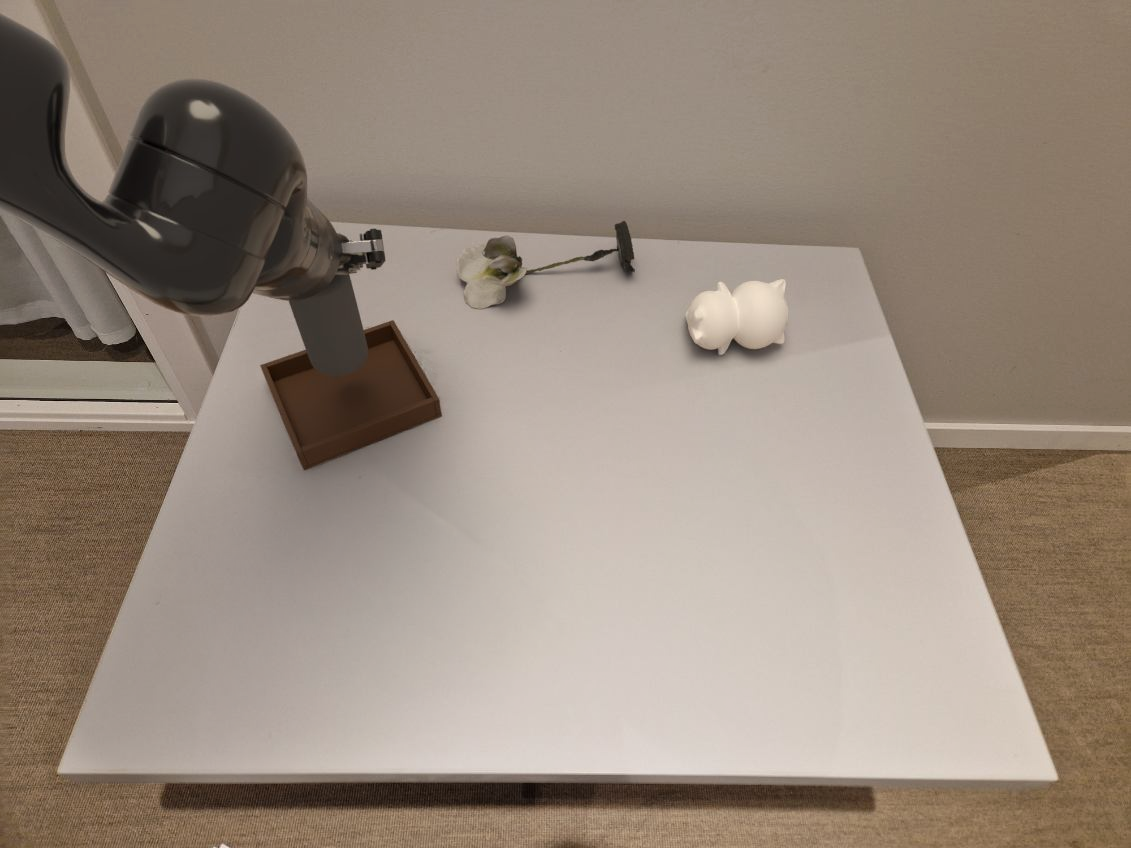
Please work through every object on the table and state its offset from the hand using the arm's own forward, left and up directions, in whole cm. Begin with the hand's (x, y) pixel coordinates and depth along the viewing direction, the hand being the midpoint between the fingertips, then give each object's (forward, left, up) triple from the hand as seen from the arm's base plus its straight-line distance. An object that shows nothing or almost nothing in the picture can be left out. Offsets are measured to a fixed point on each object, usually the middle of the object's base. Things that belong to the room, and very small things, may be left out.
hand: (315, 265), depth 67 cm
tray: (0, -2, -18) cm, 18 cm away
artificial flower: (+28, +5, -18) cm, 33 cm away
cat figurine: (+43, -13, -18) cm, 48 cm away
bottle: (-1, -2, -10) cm, 11 cm away
